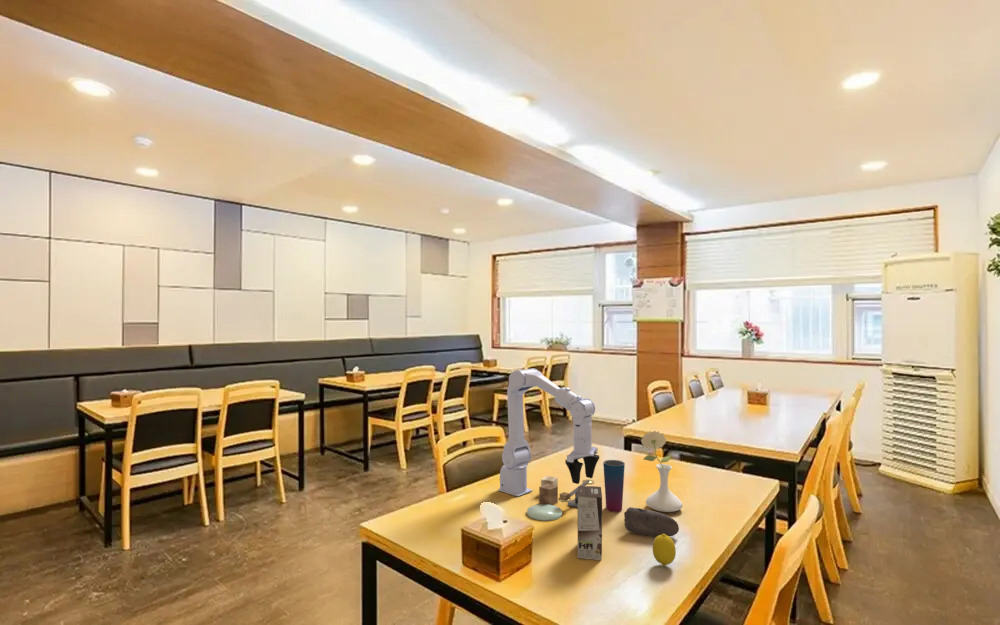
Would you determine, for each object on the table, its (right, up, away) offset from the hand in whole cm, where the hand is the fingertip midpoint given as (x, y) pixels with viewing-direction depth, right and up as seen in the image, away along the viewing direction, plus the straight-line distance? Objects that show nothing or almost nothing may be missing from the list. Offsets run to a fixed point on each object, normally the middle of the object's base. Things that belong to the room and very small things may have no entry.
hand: (582, 480), depth 165 cm
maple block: (-9, -10, +17) cm, 22 cm away
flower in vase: (+26, -10, +3) cm, 28 cm away
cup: (+11, -10, +2) cm, 15 cm away
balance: (-1, -10, +6) cm, 12 cm away
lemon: (+15, -10, -36) cm, 40 cm away
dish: (-12, -10, -2) cm, 16 cm away
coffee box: (-3, -10, -28) cm, 30 cm away
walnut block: (-10, -10, +8) cm, 17 cm away
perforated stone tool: (+17, -10, -17) cm, 26 cm away
